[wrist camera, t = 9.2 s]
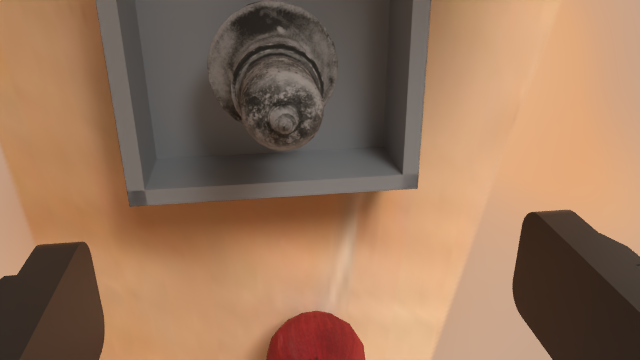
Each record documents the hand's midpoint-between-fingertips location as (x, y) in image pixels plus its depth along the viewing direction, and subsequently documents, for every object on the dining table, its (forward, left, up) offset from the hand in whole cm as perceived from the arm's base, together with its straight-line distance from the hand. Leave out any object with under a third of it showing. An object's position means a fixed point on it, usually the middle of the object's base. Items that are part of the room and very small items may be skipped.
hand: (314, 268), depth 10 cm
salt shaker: (0, 0, -20) cm, 20 cm away
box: (0, 0, -20) cm, 20 cm away
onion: (+12, +13, -20) cm, 27 cm away
